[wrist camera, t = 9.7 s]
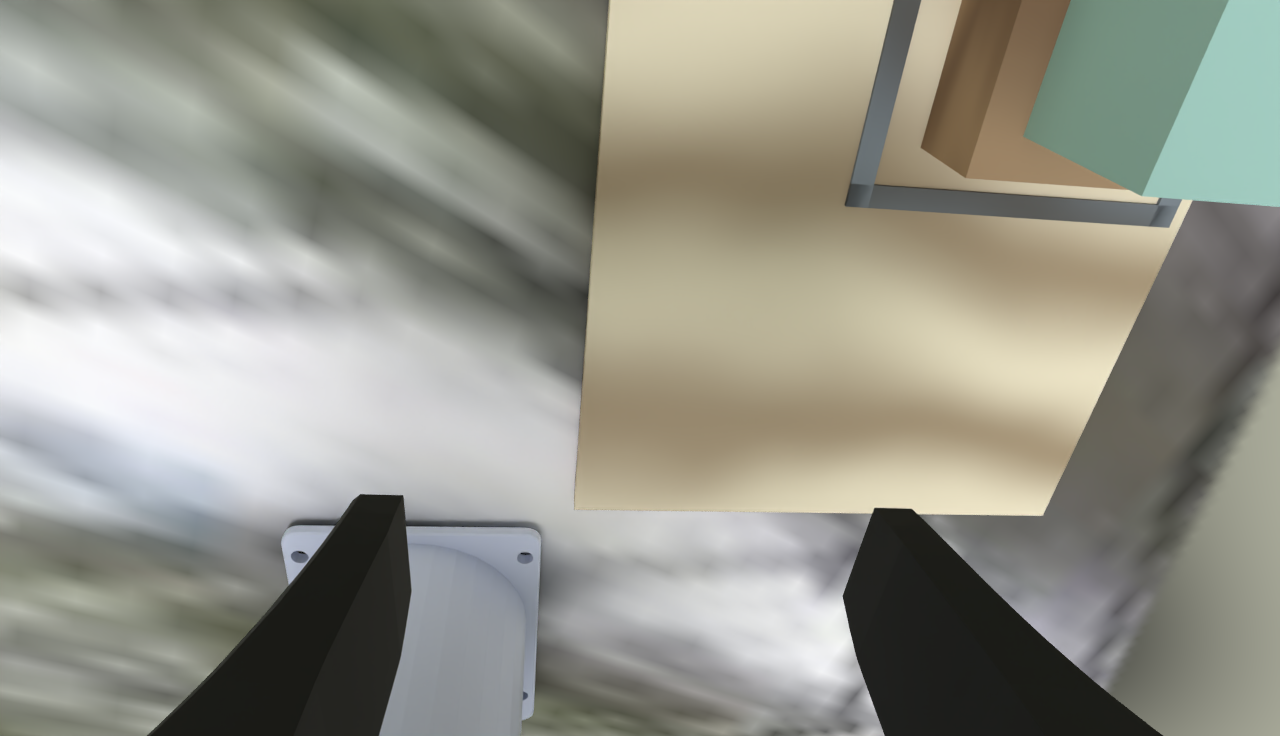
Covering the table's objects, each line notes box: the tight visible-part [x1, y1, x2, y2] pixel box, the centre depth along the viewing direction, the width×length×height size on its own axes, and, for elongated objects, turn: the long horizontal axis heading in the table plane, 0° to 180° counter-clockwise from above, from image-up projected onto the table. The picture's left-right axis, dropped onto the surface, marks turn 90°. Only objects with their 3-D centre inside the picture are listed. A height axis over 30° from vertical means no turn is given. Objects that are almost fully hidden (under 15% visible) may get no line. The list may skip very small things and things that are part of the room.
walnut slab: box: [921, 0, 1128, 190], centre depth 17 cm, size 6×6×2 cm
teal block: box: [1023, 0, 1280, 207], centre depth 14 cm, size 4×4×4 cm
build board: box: [574, 0, 1192, 516], centre depth 20 cm, size 20×16×1 cm
